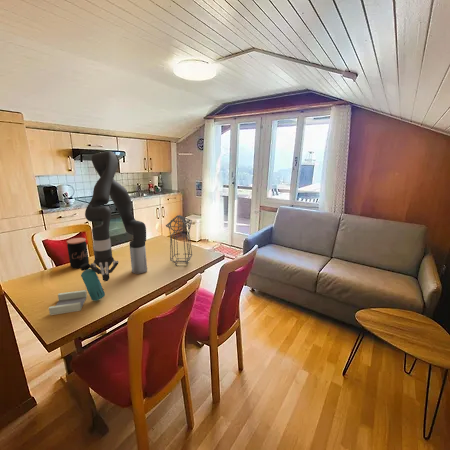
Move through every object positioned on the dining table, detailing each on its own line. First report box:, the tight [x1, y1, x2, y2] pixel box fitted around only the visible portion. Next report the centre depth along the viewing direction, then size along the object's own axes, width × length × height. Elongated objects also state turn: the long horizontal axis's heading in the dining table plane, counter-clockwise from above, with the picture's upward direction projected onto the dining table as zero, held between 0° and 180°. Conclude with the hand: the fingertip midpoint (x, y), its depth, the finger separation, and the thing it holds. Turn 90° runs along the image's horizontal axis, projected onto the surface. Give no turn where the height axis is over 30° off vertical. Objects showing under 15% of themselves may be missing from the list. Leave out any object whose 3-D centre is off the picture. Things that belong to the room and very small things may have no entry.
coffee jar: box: [66, 237, 90, 269], centre depth 151 cm, size 11×11×18 cm
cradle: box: [48, 289, 88, 316], centre depth 110 cm, size 12×13×4 cm
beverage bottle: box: [79, 262, 106, 302], centre depth 111 cm, size 6×7×20 cm
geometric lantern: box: [165, 214, 193, 267], centre depth 156 cm, size 16×16×35 cm
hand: (106, 280), depth 113 cm, fingers closed
